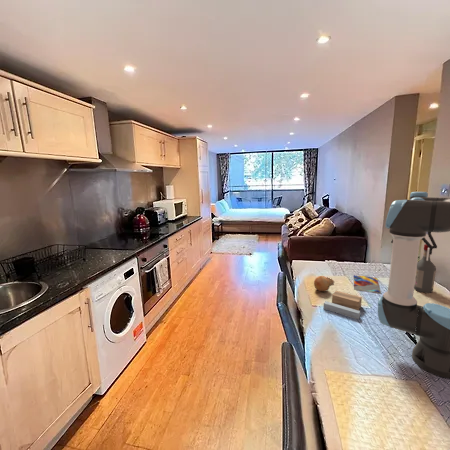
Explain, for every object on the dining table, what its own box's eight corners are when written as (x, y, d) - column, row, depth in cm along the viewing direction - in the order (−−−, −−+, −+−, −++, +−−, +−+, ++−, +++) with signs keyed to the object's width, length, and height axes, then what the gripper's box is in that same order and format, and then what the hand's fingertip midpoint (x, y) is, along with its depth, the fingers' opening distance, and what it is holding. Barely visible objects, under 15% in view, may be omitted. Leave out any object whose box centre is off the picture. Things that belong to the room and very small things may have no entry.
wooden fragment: (325, 292, 161) (325, 290, 160) (309, 287, 168) (309, 286, 168) (339, 279, 179) (339, 278, 179) (323, 276, 187) (323, 274, 186)
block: (357, 311, 137) (358, 302, 135) (331, 304, 146) (332, 294, 145) (361, 306, 142) (361, 297, 141) (335, 299, 151) (336, 290, 150)
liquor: (417, 292, 156) (423, 246, 150) (410, 286, 165) (415, 242, 159) (434, 293, 154) (441, 247, 148) (426, 287, 162) (432, 243, 157)
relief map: (381, 294, 156) (381, 291, 155) (354, 290, 162) (354, 287, 162) (376, 279, 178) (377, 277, 178) (353, 276, 185) (353, 274, 184)
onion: (327, 295, 156) (328, 280, 154) (311, 291, 162) (312, 277, 160) (331, 289, 163) (332, 275, 161) (316, 286, 169) (316, 272, 167)
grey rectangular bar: (358, 319, 129) (358, 313, 128) (323, 308, 140) (323, 303, 140) (359, 317, 131) (360, 311, 131) (325, 306, 143) (325, 301, 142)
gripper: (446, 221, 129) (440, 260, 133) (389, 217, 145) (386, 252, 149) (446, 223, 123) (441, 263, 127) (387, 219, 139) (384, 255, 143)
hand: (411, 257), depth 138 cm, fingers open, 13 cm apart
